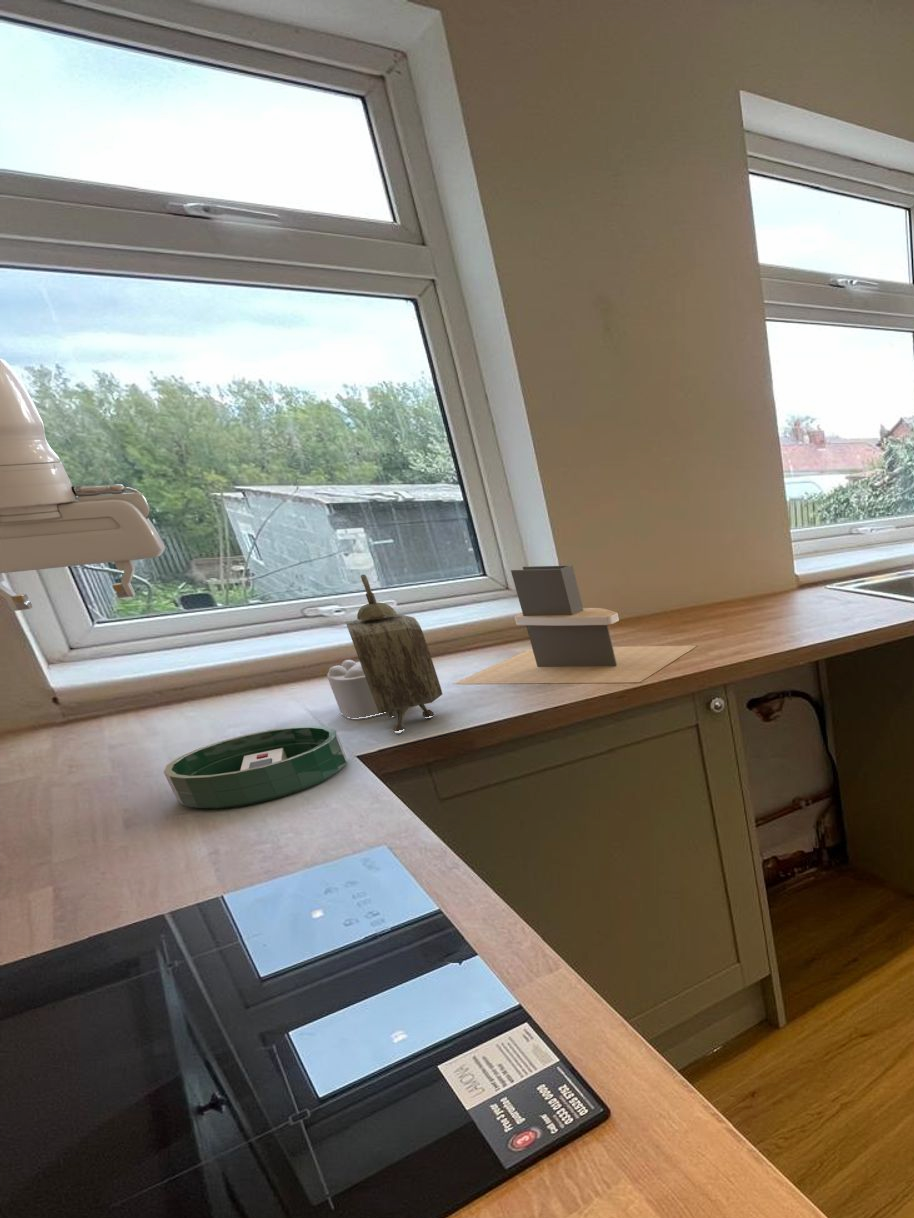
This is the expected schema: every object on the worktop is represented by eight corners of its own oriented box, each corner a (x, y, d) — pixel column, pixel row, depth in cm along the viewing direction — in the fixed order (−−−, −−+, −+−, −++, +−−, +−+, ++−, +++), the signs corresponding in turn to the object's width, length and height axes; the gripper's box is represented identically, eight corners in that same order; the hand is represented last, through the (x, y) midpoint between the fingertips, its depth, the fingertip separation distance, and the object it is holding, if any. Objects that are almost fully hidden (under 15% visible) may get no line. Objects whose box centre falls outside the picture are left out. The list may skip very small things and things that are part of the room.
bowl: (171, 825, 105) (154, 790, 103) (189, 780, 118) (174, 748, 116) (348, 783, 115) (336, 751, 113) (346, 746, 128) (335, 716, 127)
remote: (285, 786, 113) (278, 770, 112) (243, 796, 111) (236, 780, 110) (288, 761, 122) (282, 746, 121) (249, 769, 120) (243, 754, 119)
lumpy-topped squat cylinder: (351, 722, 139) (333, 674, 135) (332, 707, 147) (315, 661, 143) (421, 705, 146) (405, 659, 142) (399, 692, 154) (384, 648, 150)
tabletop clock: (380, 717, 141) (328, 573, 131) (440, 705, 146) (395, 565, 136) (388, 740, 130) (332, 585, 120) (453, 725, 136) (405, 575, 126)
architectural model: (697, 645, 177) (679, 554, 169) (639, 682, 154) (616, 578, 146) (533, 647, 181) (508, 558, 173) (452, 683, 157) (420, 582, 150)
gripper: (142, 481, 106) (188, 586, 112) (-97, 496, 95) (-33, 612, 100) (134, 484, 101) (182, 593, 107) (-119, 500, 90) (-51, 621, 96)
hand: (76, 603), depth 104 cm, fingers open, 8 cm apart
